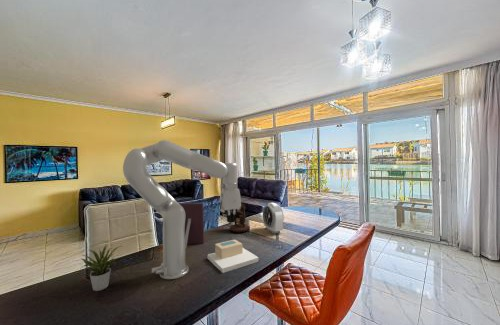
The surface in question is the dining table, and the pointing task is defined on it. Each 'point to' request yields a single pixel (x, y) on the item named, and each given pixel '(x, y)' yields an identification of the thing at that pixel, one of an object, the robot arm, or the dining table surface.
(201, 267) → the dining table surface
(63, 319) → the dining table surface
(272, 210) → the alarm clock
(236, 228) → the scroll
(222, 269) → the display podium
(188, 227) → the picture frame
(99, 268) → the house plant
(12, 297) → the dining table surface
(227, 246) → the carton
